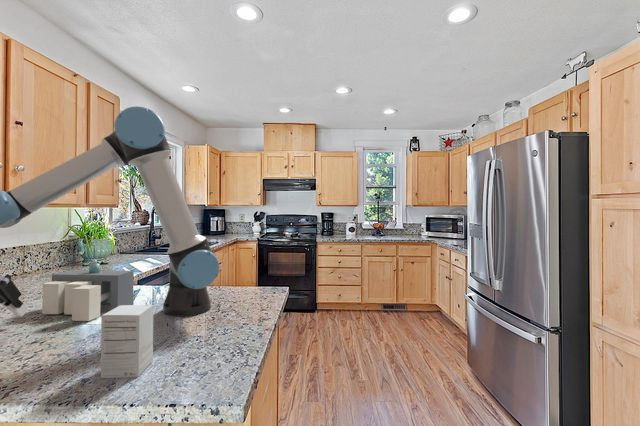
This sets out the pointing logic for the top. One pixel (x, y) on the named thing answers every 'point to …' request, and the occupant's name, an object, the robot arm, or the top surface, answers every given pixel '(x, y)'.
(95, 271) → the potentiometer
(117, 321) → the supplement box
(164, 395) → the top surface
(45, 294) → the knob
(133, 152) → the robot arm
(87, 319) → the knob
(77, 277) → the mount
